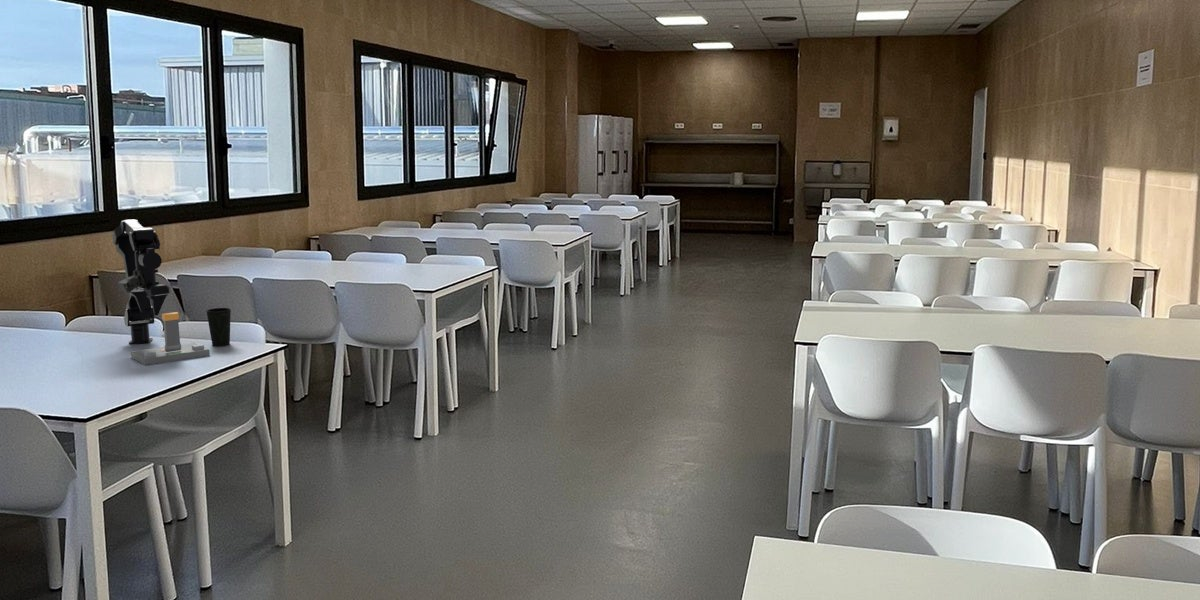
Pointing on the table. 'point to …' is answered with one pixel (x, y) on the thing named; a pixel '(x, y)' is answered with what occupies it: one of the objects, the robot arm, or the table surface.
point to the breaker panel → (169, 354)
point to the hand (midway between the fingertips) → (149, 313)
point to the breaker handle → (171, 331)
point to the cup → (219, 326)
